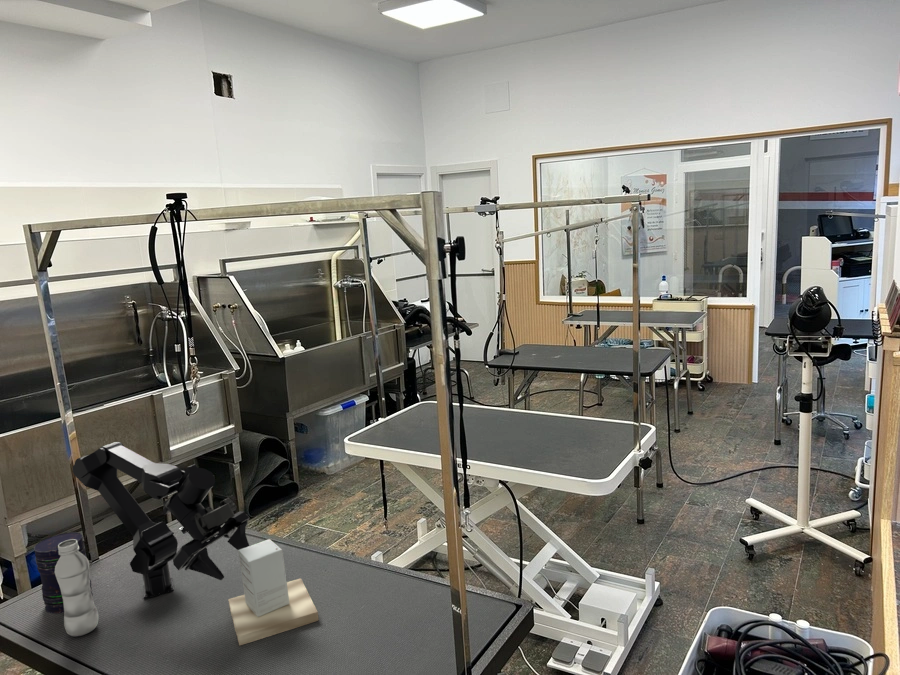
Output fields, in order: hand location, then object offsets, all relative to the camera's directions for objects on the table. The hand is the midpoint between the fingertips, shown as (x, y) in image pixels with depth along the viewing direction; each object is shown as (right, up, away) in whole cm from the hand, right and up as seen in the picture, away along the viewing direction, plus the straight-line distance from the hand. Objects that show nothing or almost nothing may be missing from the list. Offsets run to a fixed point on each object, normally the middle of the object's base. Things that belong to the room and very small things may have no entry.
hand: (237, 568), depth 142 cm
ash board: (+8, -9, -2) cm, 12 cm away
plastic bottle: (-32, -13, -2) cm, 35 cm away
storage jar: (-42, -12, +10) cm, 45 cm away
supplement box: (+7, -7, -1) cm, 10 cm away
